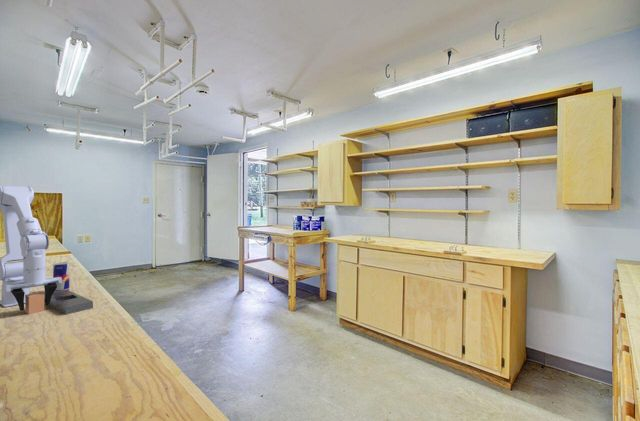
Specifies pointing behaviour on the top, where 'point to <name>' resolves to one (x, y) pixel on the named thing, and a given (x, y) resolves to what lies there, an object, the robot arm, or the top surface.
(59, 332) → the top surface
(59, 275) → the energy drink
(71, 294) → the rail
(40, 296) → the square block
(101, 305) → the top surface
